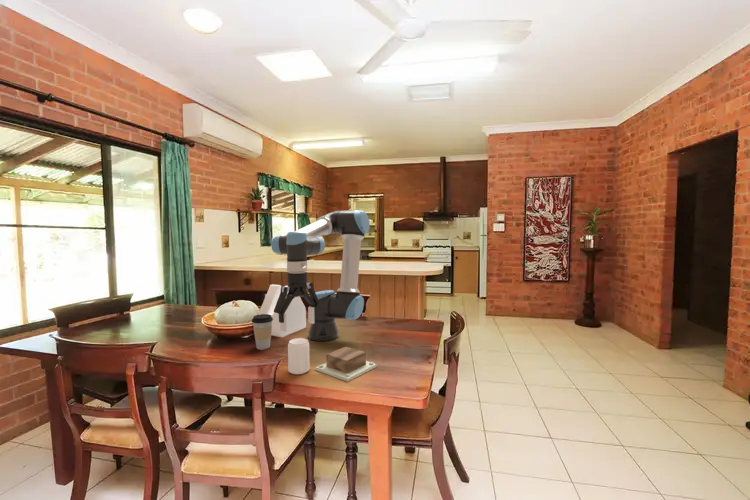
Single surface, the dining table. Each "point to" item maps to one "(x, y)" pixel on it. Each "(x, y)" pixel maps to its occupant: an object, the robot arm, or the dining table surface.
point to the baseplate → (345, 376)
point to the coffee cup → (262, 330)
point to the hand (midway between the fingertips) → (298, 326)
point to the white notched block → (293, 312)
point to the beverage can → (298, 356)
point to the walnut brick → (346, 359)
